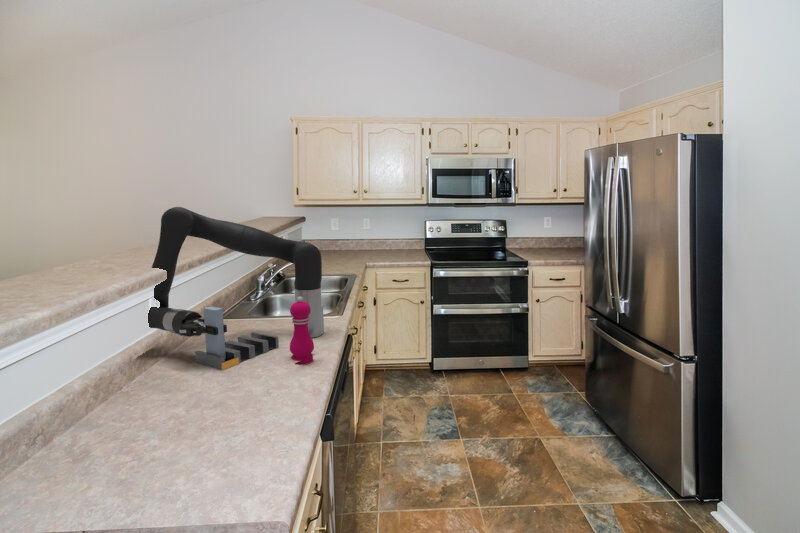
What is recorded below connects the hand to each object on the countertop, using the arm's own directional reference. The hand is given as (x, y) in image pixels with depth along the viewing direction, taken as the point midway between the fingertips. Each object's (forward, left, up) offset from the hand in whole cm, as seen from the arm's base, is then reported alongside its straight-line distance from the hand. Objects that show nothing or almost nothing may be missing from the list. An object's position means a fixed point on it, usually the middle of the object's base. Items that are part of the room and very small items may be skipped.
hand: (221, 330), depth 128 cm
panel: (0, -3, -9) cm, 9 cm away
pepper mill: (-16, +15, -12) cm, 25 cm away
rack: (-8, -3, -12) cm, 15 cm away
